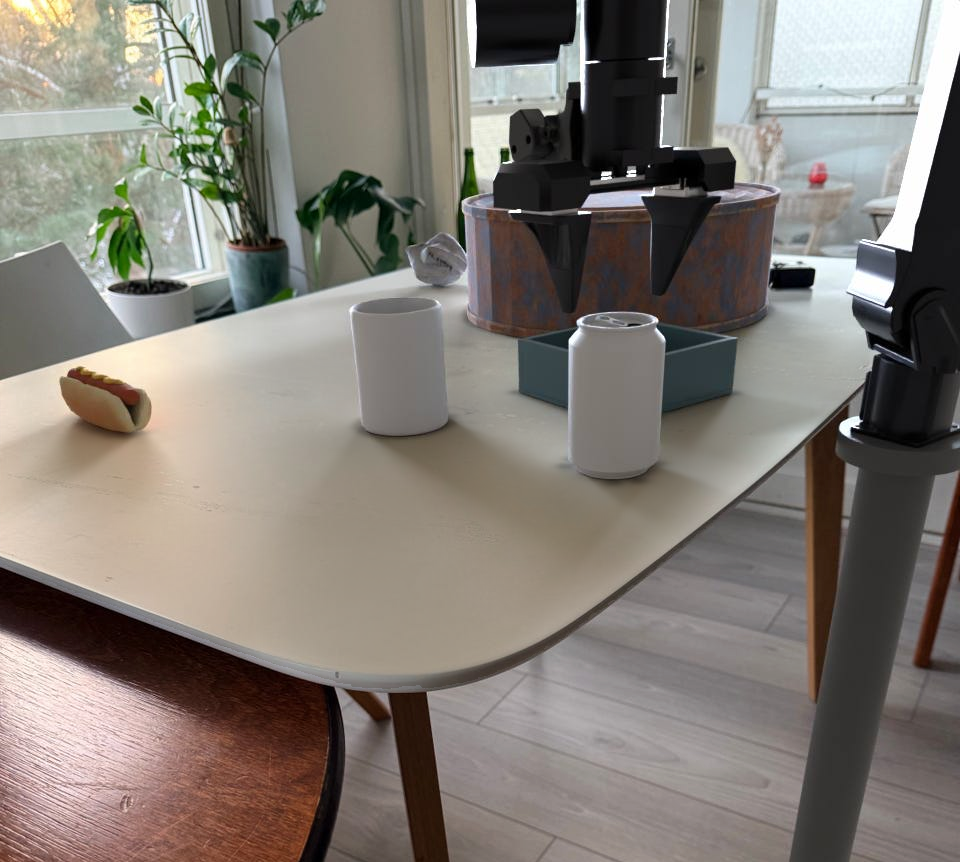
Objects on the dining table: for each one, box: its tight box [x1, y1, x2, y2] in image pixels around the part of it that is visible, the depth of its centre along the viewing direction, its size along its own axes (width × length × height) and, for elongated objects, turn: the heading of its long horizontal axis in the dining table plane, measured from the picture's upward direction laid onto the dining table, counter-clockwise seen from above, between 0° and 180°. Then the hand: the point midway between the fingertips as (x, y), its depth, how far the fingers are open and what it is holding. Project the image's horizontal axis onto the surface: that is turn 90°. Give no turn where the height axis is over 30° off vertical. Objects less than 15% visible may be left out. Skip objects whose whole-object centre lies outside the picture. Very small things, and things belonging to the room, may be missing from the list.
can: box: [567, 312, 666, 480], centre depth 73 cm, size 8×8×12 cm
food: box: [58, 365, 153, 434], centre depth 92 cm, size 14×6×5 cm, turn 45°
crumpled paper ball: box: [405, 231, 467, 286], centre depth 154 cm, size 11×9×8 cm
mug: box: [349, 296, 449, 437], centre depth 87 cm, size 12×8×11 cm
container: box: [461, 181, 782, 338], centre depth 128 cm, size 43×43×15 cm
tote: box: [517, 322, 739, 414], centre depth 93 cm, size 16×16×6 cm
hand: (614, 304), depth 69 cm, fingers open, 9 cm apart
